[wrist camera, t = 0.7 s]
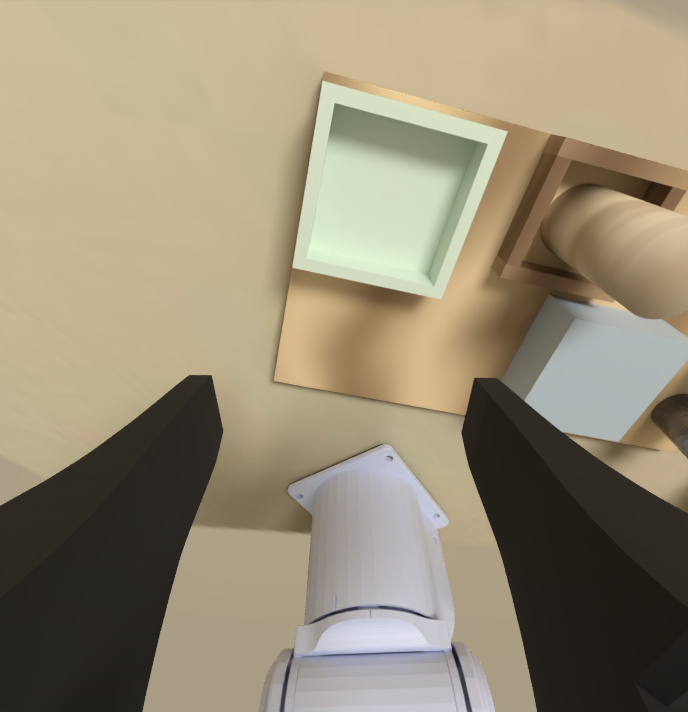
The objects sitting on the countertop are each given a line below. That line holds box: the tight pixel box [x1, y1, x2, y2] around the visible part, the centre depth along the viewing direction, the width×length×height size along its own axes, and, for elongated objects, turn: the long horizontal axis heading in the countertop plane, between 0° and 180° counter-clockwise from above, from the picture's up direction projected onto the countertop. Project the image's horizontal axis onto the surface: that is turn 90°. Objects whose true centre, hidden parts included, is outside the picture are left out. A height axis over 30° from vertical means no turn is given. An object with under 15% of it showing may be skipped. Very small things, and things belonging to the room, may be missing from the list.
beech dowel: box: [541, 183, 688, 319], centre depth 14 cm, size 3×3×6 cm
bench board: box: [274, 72, 688, 453], centre depth 19 cm, size 25×14×2 cm, turn 77°
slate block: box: [501, 294, 688, 442], centre depth 20 cm, size 6×6×2 cm
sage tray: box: [292, 81, 508, 299], centre depth 16 cm, size 6×6×2 cm
